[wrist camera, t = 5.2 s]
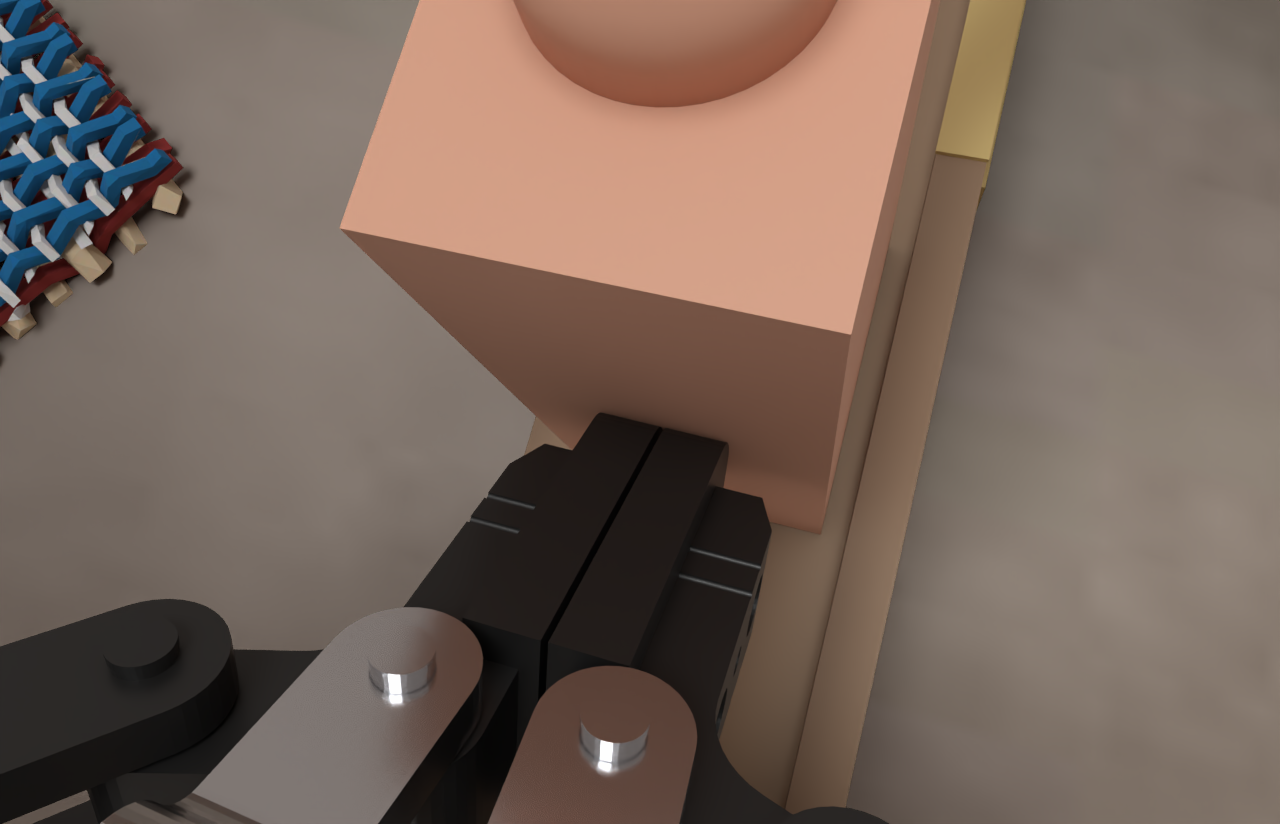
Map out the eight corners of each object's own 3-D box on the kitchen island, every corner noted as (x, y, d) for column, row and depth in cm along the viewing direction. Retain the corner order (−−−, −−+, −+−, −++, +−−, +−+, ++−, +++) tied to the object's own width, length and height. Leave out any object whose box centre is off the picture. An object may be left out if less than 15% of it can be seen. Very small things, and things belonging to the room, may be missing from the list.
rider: (603, 479, 17) (267, 159, 6) (680, 204, 18) (506, -479, 7) (820, 535, 16) (861, 275, 5) (889, 243, 17) (1034, -451, 6)
